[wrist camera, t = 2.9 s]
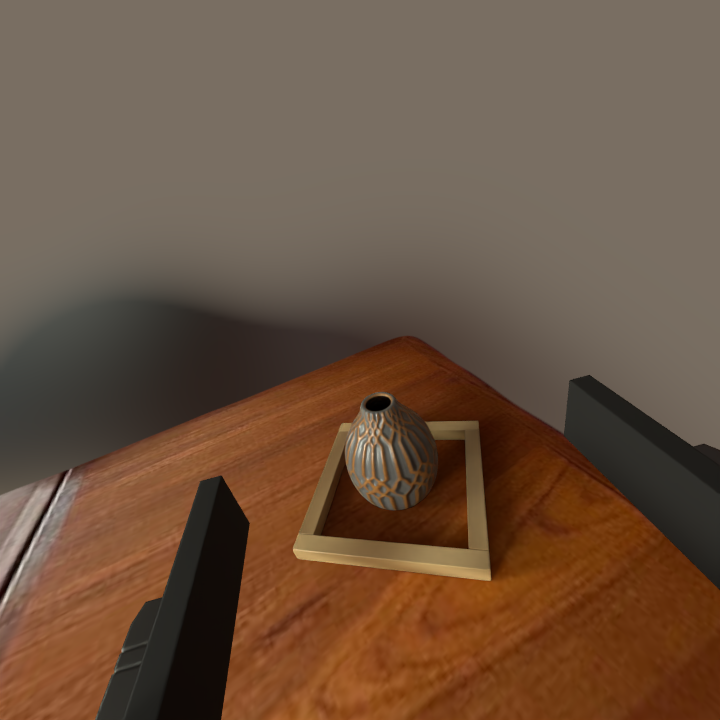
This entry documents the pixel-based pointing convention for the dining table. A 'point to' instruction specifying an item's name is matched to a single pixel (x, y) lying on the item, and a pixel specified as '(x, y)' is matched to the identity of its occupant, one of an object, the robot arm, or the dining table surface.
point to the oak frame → (401, 554)
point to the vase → (390, 453)
